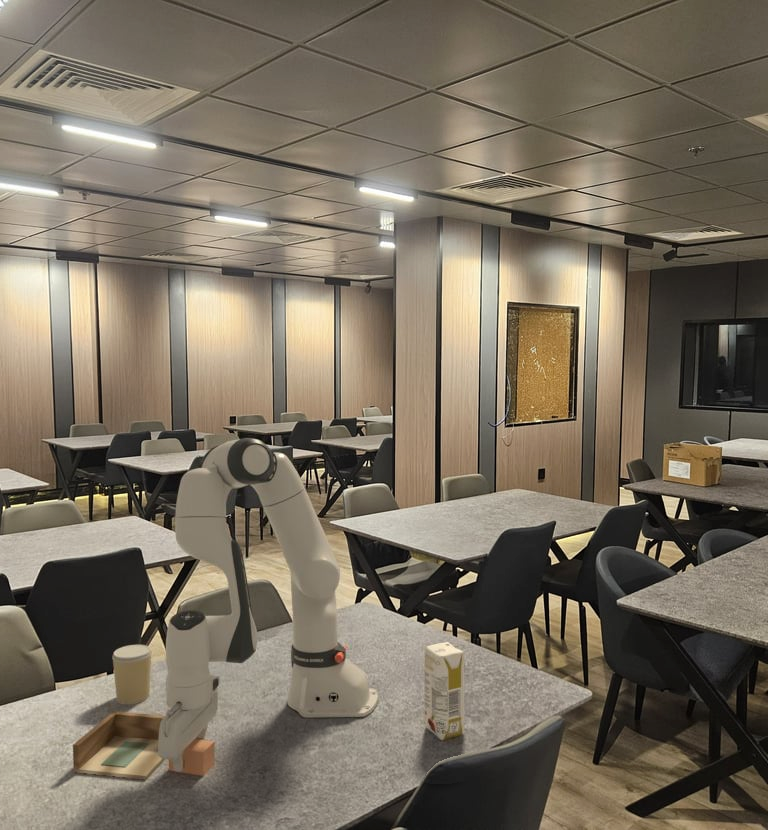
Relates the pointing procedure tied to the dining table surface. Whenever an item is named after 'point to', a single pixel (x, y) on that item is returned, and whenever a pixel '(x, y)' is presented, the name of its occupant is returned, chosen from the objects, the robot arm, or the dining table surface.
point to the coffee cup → (132, 673)
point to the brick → (197, 757)
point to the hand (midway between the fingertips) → (189, 757)
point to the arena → (120, 746)
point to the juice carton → (444, 690)
